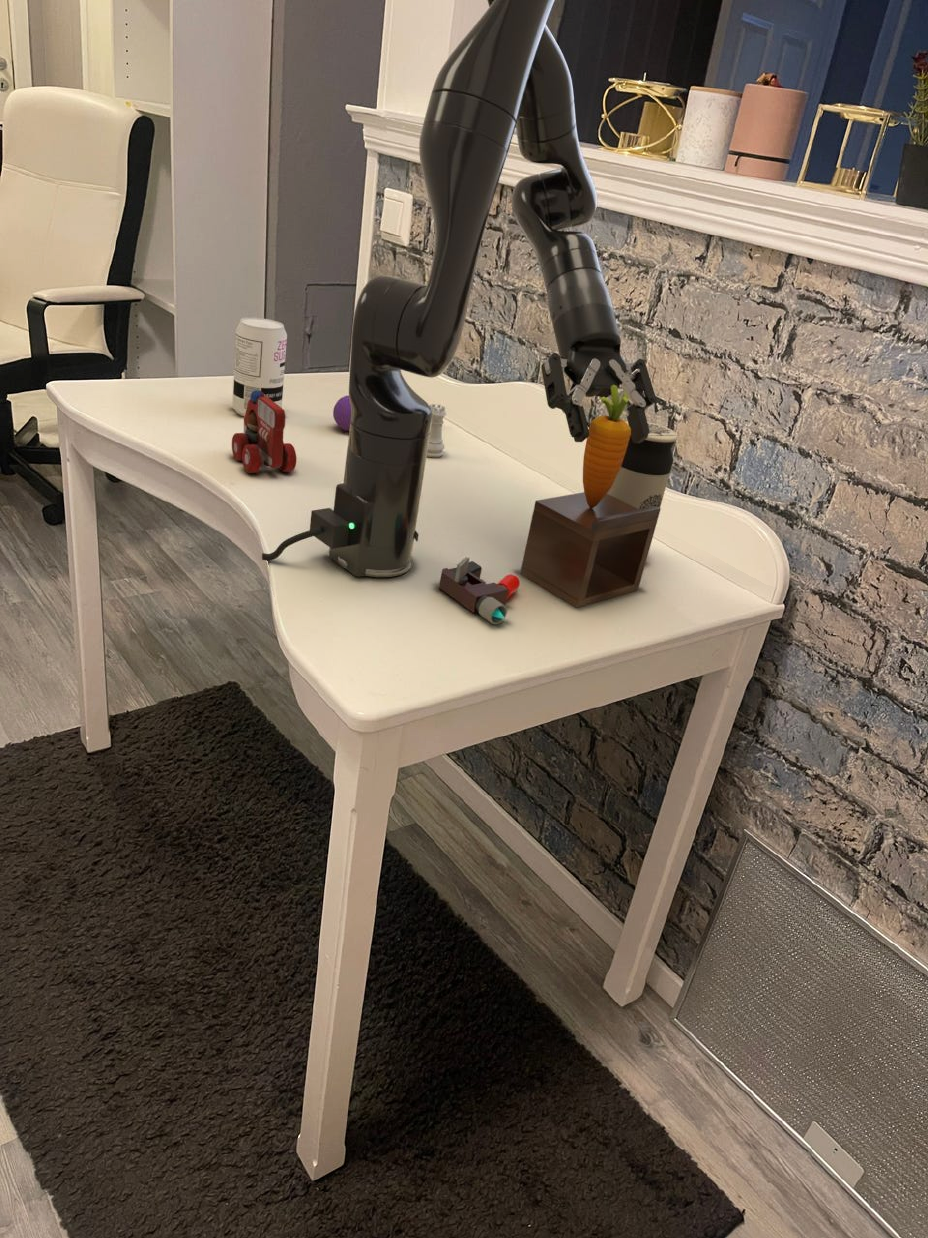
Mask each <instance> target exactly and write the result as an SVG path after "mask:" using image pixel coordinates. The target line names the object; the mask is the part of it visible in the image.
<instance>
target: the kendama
mask: <svg viewBox="0 0 928 1238" xmlns="http://www.w3.org/2000/svg"><path fill="white" fill-rule="evenodd" d="M332 415H333V416H332V417H333V419H334V421H335V423H336V425H337V426H338V428H340V429H341V430H344V431H345V432H349V431H350V422H351V404H350V400H349V394H348V395H344V396H342V397H341V398H339V399H338V400H337V401H336V403H335V405H334V407H333V410H332Z"/></svg>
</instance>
